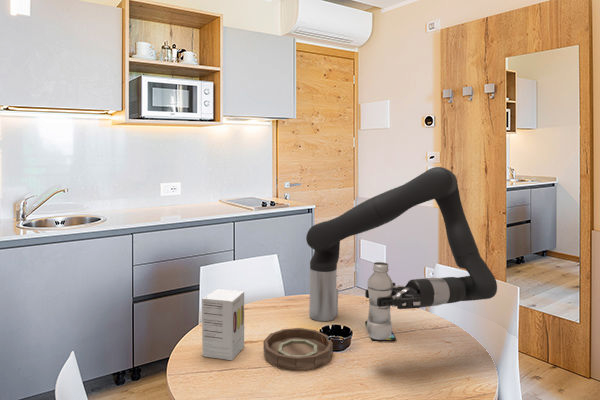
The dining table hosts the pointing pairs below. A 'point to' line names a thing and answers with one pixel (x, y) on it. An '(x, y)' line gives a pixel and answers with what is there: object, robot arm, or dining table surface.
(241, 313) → the supplement box
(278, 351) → the walnut tray
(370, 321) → the plastic bottle
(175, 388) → the dining table surface
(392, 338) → the smartphone
